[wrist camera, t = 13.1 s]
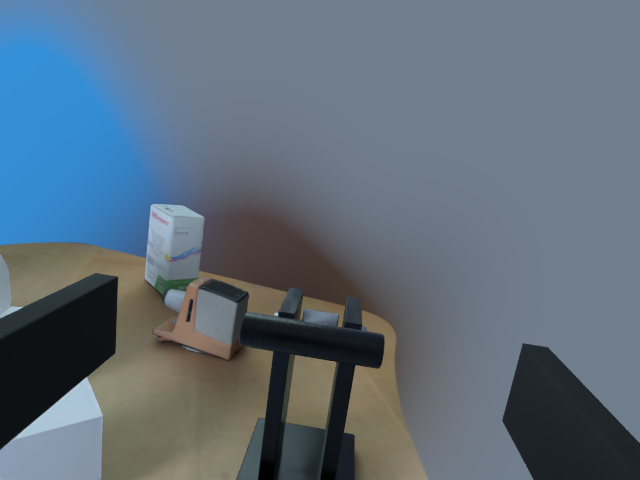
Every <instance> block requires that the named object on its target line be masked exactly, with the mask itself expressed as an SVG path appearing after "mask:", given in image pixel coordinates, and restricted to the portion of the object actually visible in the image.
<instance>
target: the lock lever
mask: <svg viewBox="0 0 640 480" xmlns="http://www.w3.org/2000/svg"><path fill="white" fill-rule="evenodd" d="M338 318H339V315H338V314H333V313H327V312H321V311H315V310H309V309H304V313H303V319H302V321H300V320H293V319H287V318H281V317H275V316H269V315H263V314H256V313H250V312H248V313H246V314H245V316H244V317H243V320H242V323H241V328H240V334H239V343H240V345H241V346H245V347H251V348H257V349H263V350H269V351H275V352H281V353H287V354H293V355H299V356H305V357H311V358H317V359H323V360H329V361H335V362H341V363H347V364H353V365H359V366H365V367H371V368H377V369H378V368H380V366H381V364H382V360H383V354H384V335H383V334H379V333H373V332H367V331H361V330H355V329H349V328H343V327H337V325H338Z"/></svg>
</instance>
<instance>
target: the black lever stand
mask: <svg viewBox="0 0 640 480" xmlns="http://www.w3.org/2000/svg"><path fill="white" fill-rule="evenodd" d="M303 292H304V291H303V290H301V289H295V288H289V291H288V293H287V295H286V297H285V299H284V301H283V303H282V305H281V307H280V309H279V312H276V313H275V314H274V316H275V317H281V318H287V319H293V320H300V314H301V306H302V299H303ZM342 327H343V328H349V329H355V330H361V331H367V328H366V327H364V326H362V308H361V299H359V298H352V297H347V299H346V305H345V311H344V317H343V324H342ZM294 358H295V355H293V354H287V353H281V352H275V351H274V352H273V360H272V368H271V376H270V384H269V392H268V400H267V408H266V417H265V419H263V418H258V421H257V424H256V426H255V429H254V432H253V435H252V438H251V440H250V443H249V446H248V449H247V451H246V454H245V457H244V460H243V463H242V465H241V468H240V471H239V474H238V476H237V479H236V480H354V445H355V436H354V434H348V433H344V428H345V422H346V416H347V410H348V405H349V399H350V393H351V387H352V381H353V376H354V370H355V365H353V364H347V363H341V362H336V367H335V374H334V380H333V386H332V392H331V399H330V405H329V411H328V417H327V423H326V430H325V429H320V428H314V427H308V426H302V425H297V424H291V423H286V417H287V409H288V402H289V395H290V387H291V380H292V373H293V365H294Z"/></svg>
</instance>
